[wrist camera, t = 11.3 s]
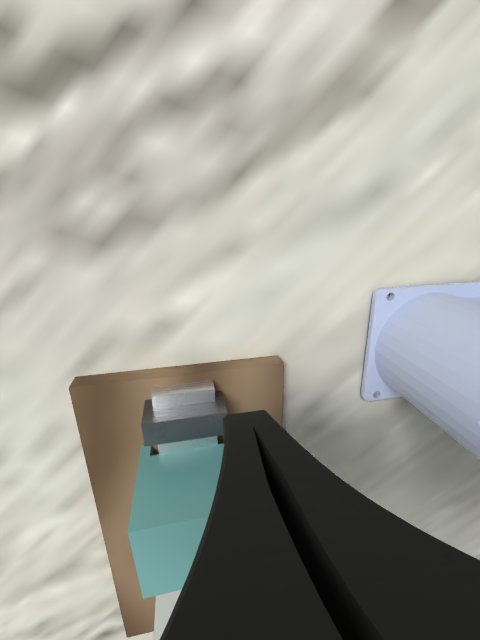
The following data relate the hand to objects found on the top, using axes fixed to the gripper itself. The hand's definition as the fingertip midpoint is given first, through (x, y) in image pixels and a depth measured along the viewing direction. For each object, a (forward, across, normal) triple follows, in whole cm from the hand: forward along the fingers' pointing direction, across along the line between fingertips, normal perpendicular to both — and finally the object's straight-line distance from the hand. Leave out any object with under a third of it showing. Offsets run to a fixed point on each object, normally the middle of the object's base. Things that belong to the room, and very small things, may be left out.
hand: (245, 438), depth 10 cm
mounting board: (+9, +2, +13) cm, 16 cm away
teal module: (+8, +2, +9) cm, 12 cm away
